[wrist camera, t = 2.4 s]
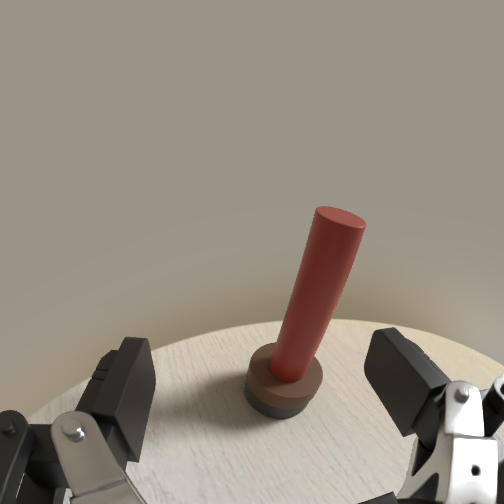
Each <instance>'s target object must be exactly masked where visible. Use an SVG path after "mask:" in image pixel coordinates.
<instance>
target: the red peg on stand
mask: <svg viewBox="0 0 504 504" xmlns="http://www.w3.org/2000/svg"><path fill="white" fill-rule="evenodd" d="M365 227H366V223H365V221H364V220H362V219H361V218H360V217H358V216H356V215H354V214H352V213H350V212H347V211H344V210H341V209H337V208H333V207H325V206H323V207H318V208H316V210H315V214H314V218H313V221H312V226H311V229H310V233H309V236H308V240H307V243H306V247H305V251H304V254H303V258H302V262H301V265H300V268H299V272H298V275H297V278H296V282H295V285H294V289H293V292H292V295H291V298H290V302H289V305H288V308H287V311H286V314H285V317H284V321H283V324H282V327H281V330H280V333H279V336H278V339H277V342H275V343H270V344H266V345H264V346H262V347H260V348H259V349H258V350H257V351H256V352H255V353H254V354H253V356H252V357H251V360H250V364H249V368H248V371H247V380H246V384H245V394H246V397H247V399H248V401H249V403H250V404H251V405H252V406H253V408H255V409H256V410H257V411H258V412H260V413H262V414H264V415H266V416H269V417H273V418H289V417H292V416H295V415H297V414H299V413H300V412H301V411H303V410H304V408H305V407H306V406H307V404H308V402H309V401H310V400H311V399H312V398H313V397H314V395H315V393H316V392H317V390H318V388H319V387H320V385H321V383H322V379H323V372H322V367H321V365H320V363H319V361H318V360H317V359H316V357H315V356H314V355H315V353H316V351H317V349H318V347H319V344H320V342H321V340H322V338H323V336H324V333H325V331H326V329H327V327H328V324H329V322H330V320H331V317H332V315H333V313H334V310H335V308H336V306H337V303H338V300H339V298H340V296H341V293H342V291H343V288H344V286H345V283H346V280H347V278H348V275H349V273H350V270H351V267H352V265H353V262H354V259H355V256H356V254H357V251H358V248H359V245H360V242H361V239H362V236H363V233H364V230H365Z"/></svg>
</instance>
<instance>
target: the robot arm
mask: <svg viewBox="0 0 504 504" xmlns="http://www.w3.org/2000/svg"><path fill="white" fill-rule="evenodd" d="M364 372H365V376H366V378H367V380H368V381H369V383H370V384H371V386H372V387H373V389H374V391H375V392H376V394H377V395H378V397H379V399H380V400H381V402H382V403H383V405H384V407H385V408H386V410H387V411H388V413H389V415H390V416H391V418H392V420H393V421H394V423H395V424H396V426H397V428H398V429H399V431H400V433H401V434H402V436H403V437H405V436H408V435H411V434H413V433H416V435H417V437H416V439H415V441H414V444H413V449H412V454H411V459H410V463H409V467H408V471H407V475H406V479H405V482H404V484H403V486H402V488H401V490H400V491H399V493H398V494H397V496H396V497H395V495H394V493H393V491H392V492H390V493H387V494H385V495H382V496H379V497H376V498H374V499H371V500H368V501H365V502H361V503H358V504H496V503H497V504H504V444H503V443H502V441H501V440H500V439H499V437H498V436H497V434H496V433H495V432H496V431H497V429H498V428H499V427H500V426H501V424H502V423H503V421H504V376H500V377H497V378H496V379H495V381H494V383H493V384H492V386H491V388H490V389H486V390H477V388H476V387H475V386H473V385H472V384H470V383H468V382H466V381H460V380H459V381H453V382H452V381H451V380H450V379H449V378H448V377H447V376H446V375H445V374H444V373H443V371H442V370H441V369H440V368H439V367H438V366H437V365H436V364H435V363H434V362H433V361H432V360H430V358H429V357H428V356H427V355H426V354H424V351H423V350H422V349H421V348H420V347H419V346H418V345H417V344H415V343H413V342H412V341H410V340H408V339H406V338H405V337H404V336H403V335H402V334H401V333H400V332H399V331H398V330H397V329H396V328H394V327H392V328H386V329H379V330H375V331H374V333H373V335H372V339H371V342H370V346H369V349H368V353H367V356H366V360H365V363H364ZM155 386H156V376H155V370H154V365H153V361H152V356H151V351H150V345H149V341H148V339H147V338H136V337H125V338H124V340H123V342H122V344H121V346H120V348H119V350H111V351H110V352H108V353H107V354H106V355H105V356H103V357H102V358H101V360H100V362H99V364H98V366H97V367H96V371H94V373H93V375H92V379H90V381H89V383H88V385H87V387H86V389H85V391H84V393H83V395H82V397H81V399H80V401H79V403H78V405H77V407H76V409H75V411H70V412H66V413H64V414H62V415H60V416H59V417H57V418H56V420H55V421H54V422H53V424H50V425H48V424H28V422H27V421H26V419H25V418H24V416H23V415H22V414H20V413H19V412H17V411H14V410H7V411H3V412H1V413H0V504H63V500H64V495H65V491H66V488H70V489H71V491H72V494H73V497H70V504H147V503H146V501H145V500H144V498H143V497H142V496H141V494H140V493H139V491H138V490H137V488H136V487H135V485H134V484H133V482H132V481H131V479H130V478H129V476H128V475H127V473H126V471H125V470H126V465H127V461H132V462H138V463H139V459H140V454H141V449H142V444H143V439H144V435H145V430H146V425H147V421H148V417H149V412H150V408H151V404H152V400H153V395H154V391H155ZM23 473H24V476H23ZM22 476H23V479H22ZM21 479H22V482H21ZM20 482H21V486H20V489H19V485H20ZM18 489H19V492H18ZM17 492H18V495H17ZM16 495H17V499H16Z"/></svg>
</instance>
